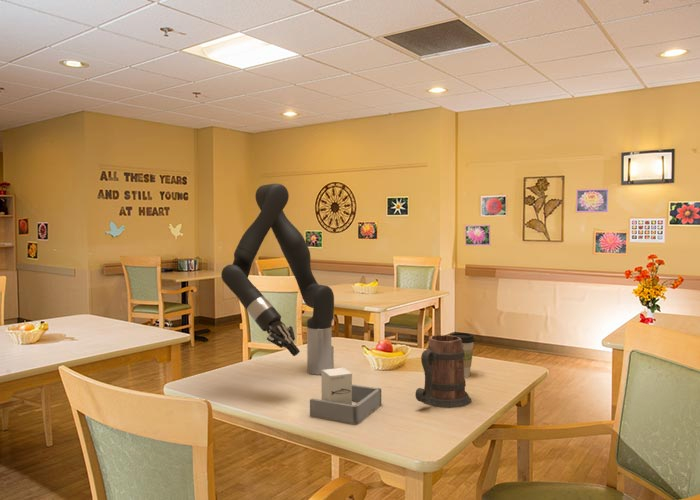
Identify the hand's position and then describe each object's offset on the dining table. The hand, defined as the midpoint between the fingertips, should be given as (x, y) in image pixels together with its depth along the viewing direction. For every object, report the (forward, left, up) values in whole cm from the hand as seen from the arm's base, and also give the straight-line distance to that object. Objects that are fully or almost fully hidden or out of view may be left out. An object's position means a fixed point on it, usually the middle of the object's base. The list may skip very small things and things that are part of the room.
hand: (297, 353), depth 171 cm
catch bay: (-8, +16, -15) cm, 23 cm away
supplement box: (-4, +16, -15) cm, 23 cm away
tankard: (-37, +27, -15) cm, 48 cm away
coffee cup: (-64, +10, -15) cm, 66 cm away
